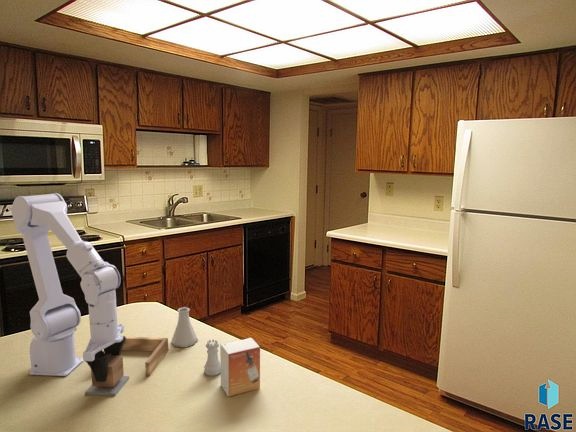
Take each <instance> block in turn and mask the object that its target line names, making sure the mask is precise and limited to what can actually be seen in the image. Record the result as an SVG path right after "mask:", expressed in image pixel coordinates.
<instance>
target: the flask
mask: <svg viewBox="0 0 576 432" xmlns="http://www.w3.org/2000/svg"><path fill="white" fill-rule="evenodd" d="M190 310H191V309H190V308H189V307H187V306H184V307H179V308H178V309H177V312H178V319H177V324H176V326H175V330H174V333H173V335H172V338H171V340H170V343H171V344H172V345H173V346H174V347H178V348H187V347H190V346H193V345H195V344H196V343H197V342H198V341H199V339H198V337H197V334H196V332H195V330H194V327H193V326H192V323H191V319H190Z"/></svg>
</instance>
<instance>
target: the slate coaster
mask: <svg viewBox="0 0 576 432" xmlns="http://www.w3.org/2000/svg"><path fill="white" fill-rule="evenodd" d="M129 380H130V376H129V375H123V376H122V378H121V379H120V380H119V381H118V382H117V384H116V385H115V386H114V387H99V386H92V384H91V385H90V386H89V387H88V388H87V389H86V390H85V392H84V394H85V395H90V396H110V397H111V396H112V397H113V396H114V397H115V396H117V394H118V393H119V392H120V391H121V390H122V388H123V387H124V386H125V384H126V383H127V382H128V381H129Z"/></svg>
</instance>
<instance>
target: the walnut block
mask: <svg viewBox="0 0 576 432" xmlns="http://www.w3.org/2000/svg"><path fill="white" fill-rule="evenodd" d="M123 357H124V356H123V355H120V356H119V355H111V356H110V358H109V362H108V367H107V378H106V381H105V382H96V380H95V377H94V375H93V372H92V370H91V369H90V373H91V375H90V376H91V385H92V386H99V387H114V386H115V385H116V384H117V382H118V381H119V380H120V379H121V378H122V376H125V375H124V360H123V359H124V358H123Z"/></svg>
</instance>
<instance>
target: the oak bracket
mask: <svg viewBox="0 0 576 432" xmlns="http://www.w3.org/2000/svg"><path fill="white" fill-rule="evenodd" d="M125 337H126V340H125V342H124V345H123V347H122V350H121V351H136V352H137V351H141V352H152V353H151V355H149V357H148V358H147V359H146V360H145V363H144V364H145V365H144V367H145V376H146V377H147V376H148V377H150V376H151V375H152V373H154V371H155V369H156V368H157V367H158V365H159V364H160V362H161V361H162V360H163V358H164V356H165V355H166V354H167V353H168V351H169V338H168V337H143V336H142V337H141V336H125ZM104 353H105V352H104Z"/></svg>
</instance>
